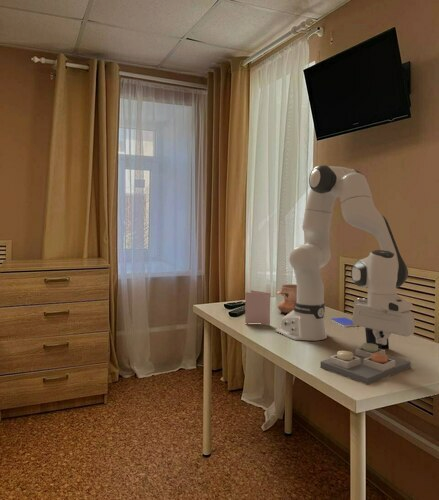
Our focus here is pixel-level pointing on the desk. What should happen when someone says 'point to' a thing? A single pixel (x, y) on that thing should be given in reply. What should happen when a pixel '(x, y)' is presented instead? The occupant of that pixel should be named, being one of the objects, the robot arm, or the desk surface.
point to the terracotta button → (379, 358)
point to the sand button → (345, 355)
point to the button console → (365, 366)
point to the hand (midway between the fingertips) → (381, 343)
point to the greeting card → (257, 307)
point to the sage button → (370, 347)
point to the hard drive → (343, 322)
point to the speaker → (371, 338)
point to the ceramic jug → (288, 297)
